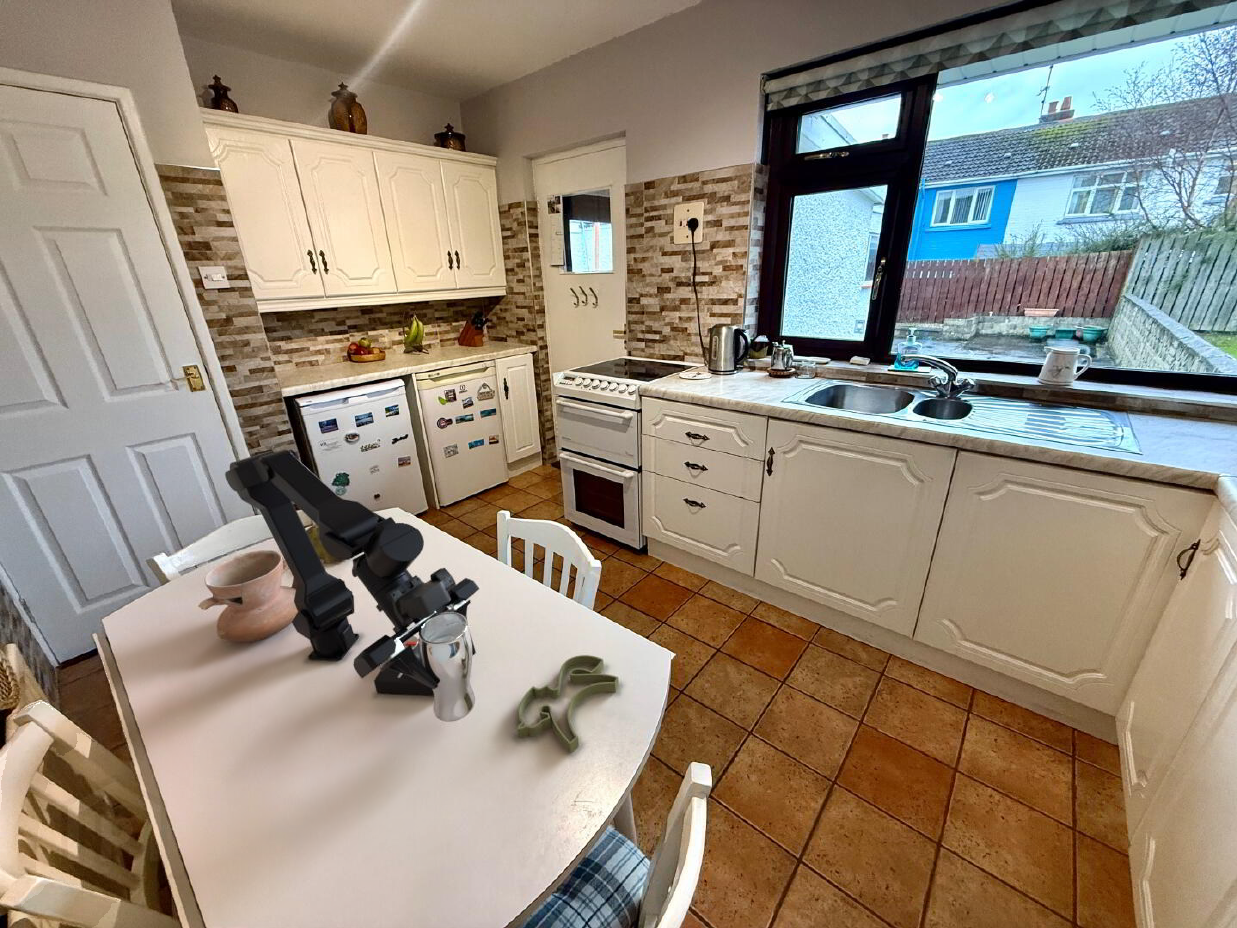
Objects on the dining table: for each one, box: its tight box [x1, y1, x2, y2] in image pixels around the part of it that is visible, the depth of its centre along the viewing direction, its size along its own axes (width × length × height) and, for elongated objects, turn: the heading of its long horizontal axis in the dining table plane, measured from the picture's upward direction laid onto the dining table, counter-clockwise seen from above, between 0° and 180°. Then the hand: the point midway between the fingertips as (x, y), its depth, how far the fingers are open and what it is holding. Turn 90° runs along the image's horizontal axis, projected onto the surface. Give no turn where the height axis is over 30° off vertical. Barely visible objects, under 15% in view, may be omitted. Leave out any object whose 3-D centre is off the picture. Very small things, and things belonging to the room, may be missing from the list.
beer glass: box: [418, 612, 476, 723], centre depth 71 cm, size 7×7×15 cm
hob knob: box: [403, 635, 421, 661], centre depth 85 cm, size 4×4×4 cm
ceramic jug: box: [197, 549, 298, 644], centre depth 97 cm, size 18×14×14 cm
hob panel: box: [373, 638, 434, 697], centre depth 86 cm, size 12×10×3 cm
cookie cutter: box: [517, 654, 620, 754], centre depth 80 cm, size 18×12×2 cm, turn 149°
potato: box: [306, 524, 347, 563], centre depth 120 cm, size 8×13×8 cm, turn 49°
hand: (455, 670), depth 70 cm, fingers closed on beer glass, 7 cm apart
